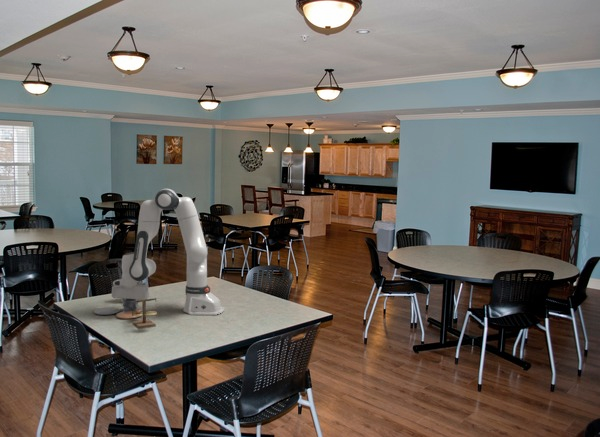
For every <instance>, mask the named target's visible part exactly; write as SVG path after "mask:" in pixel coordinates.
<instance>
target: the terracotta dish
mask: <svg viewBox="0 0 600 437" xmlns="http://www.w3.org/2000/svg"><path fill="white" fill-rule="evenodd" d="M133 313H135V311H133ZM116 317H117V318H118V319H123V320H124V319H125V320H126V319H127V320H129V319H137V318H141V316H138V317H135V316H132V311H124V310H123V311H119V312H118V313H116Z"/></svg>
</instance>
